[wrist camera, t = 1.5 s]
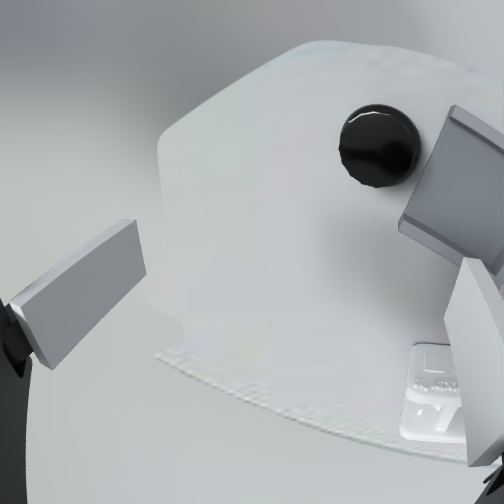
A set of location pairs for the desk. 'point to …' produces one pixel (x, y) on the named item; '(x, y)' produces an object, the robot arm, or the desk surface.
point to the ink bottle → (379, 146)
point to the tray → (462, 195)
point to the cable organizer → (432, 397)
